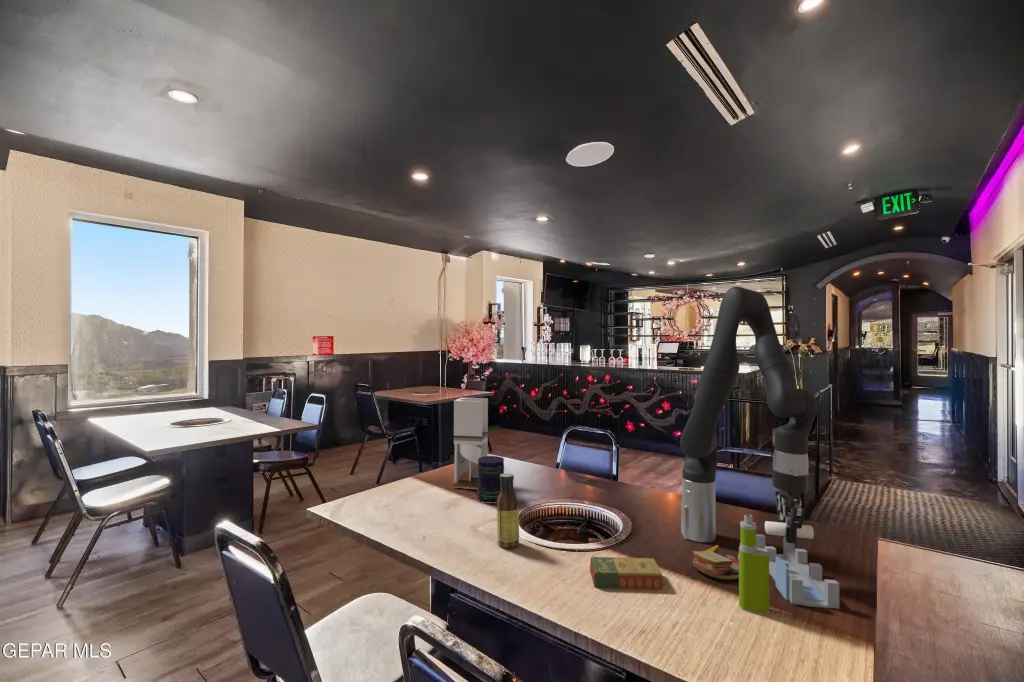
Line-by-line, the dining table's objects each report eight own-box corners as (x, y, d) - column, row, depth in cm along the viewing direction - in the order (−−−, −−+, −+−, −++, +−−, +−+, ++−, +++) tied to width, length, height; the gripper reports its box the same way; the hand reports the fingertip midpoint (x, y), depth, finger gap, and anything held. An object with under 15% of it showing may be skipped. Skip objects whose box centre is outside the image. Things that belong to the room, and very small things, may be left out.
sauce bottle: (523, 544, 133) (523, 475, 134) (508, 551, 129) (509, 479, 129) (507, 537, 138) (507, 470, 138) (492, 544, 133) (492, 474, 134)
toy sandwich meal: (758, 577, 116) (758, 558, 116) (714, 586, 111) (714, 566, 111) (720, 555, 127) (720, 538, 127) (679, 563, 123) (679, 545, 123)
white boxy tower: (453, 488, 185) (454, 400, 185) (460, 481, 196) (461, 397, 196) (481, 490, 183) (481, 401, 184) (487, 482, 194) (487, 398, 194)
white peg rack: (788, 604, 103) (788, 572, 103) (752, 553, 128) (752, 528, 128) (839, 609, 101) (839, 576, 101) (792, 557, 126) (792, 531, 126)
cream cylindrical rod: (768, 536, 114) (768, 523, 114) (764, 531, 117) (764, 519, 117) (813, 540, 112) (814, 528, 112) (808, 535, 115) (809, 523, 115)
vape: (737, 600, 104) (737, 511, 105) (768, 606, 102) (768, 515, 102) (738, 609, 101) (738, 516, 101) (770, 615, 99) (770, 521, 99)
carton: (663, 591, 109) (663, 573, 109) (593, 589, 110) (593, 571, 110) (654, 573, 117) (654, 556, 117) (589, 572, 118) (589, 555, 118)
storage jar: (503, 504, 167) (503, 462, 167) (476, 503, 167) (476, 462, 168) (504, 495, 177) (504, 456, 177) (478, 495, 177) (478, 455, 178)
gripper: (764, 461, 122) (762, 526, 122) (783, 476, 108) (781, 550, 109) (796, 463, 121) (794, 530, 121) (819, 479, 107) (817, 554, 107)
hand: (788, 539), depth 115 cm, fingers closed on cream cylindrical rod, 3 cm apart
